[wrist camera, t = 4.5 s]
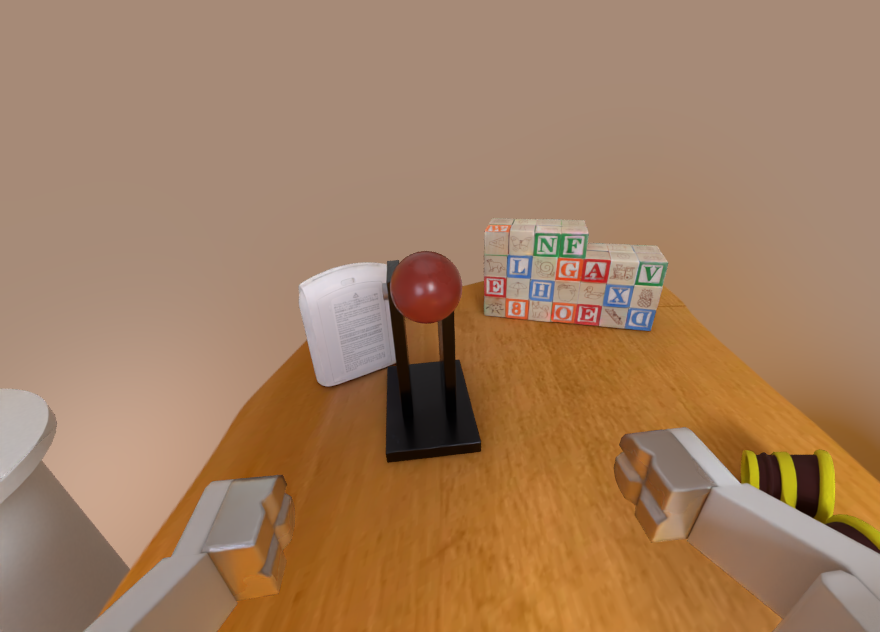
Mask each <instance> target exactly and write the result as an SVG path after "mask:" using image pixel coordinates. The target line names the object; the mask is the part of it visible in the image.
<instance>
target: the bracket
mask: <svg viewBox="0 0 880 632" xmlns="http://www.w3.org/2000/svg"><path fill="white" fill-rule="evenodd" d="M398 264H399V260H396V261H387V278H386V283H382V293H383V299H384V300H389V309H390V317H391V325H392V333H393V341H394V350H395V358H396V366H388V370H387V418H386V458H387V462H397V461H405V460H414V459H422V458H431V457H439V456H448V455H456V454H465V453H473V452H480V451H481V440H480V436H479V432H478V429H477V425H476V421H475V417H474V413H473V410H472V406H471V402H470V398H469V394H468V391H467V387H466V383H465V379H464V375H463V372H462V368H461V364H460V360H455V329H454V311H453V312H452V313H451V314H450V315H449V316H447V317H446V318H444V319H443V320H440V321H438V336H439V355H440V361H439V362H429V363H419V364H409V355H408V345H407V335H406V325H405V316H404V315H402V314H401V313H400V312H399V310H398V309H397V308H396V306H395V305H394V302H393V300H392V297H391V292H390V282H391V277H392V275H393V272H394V270H395V268H396V267H397V265H398Z"/></svg>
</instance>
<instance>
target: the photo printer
mask: <svg viewBox="0 0 880 632" xmlns="http://www.w3.org/2000/svg"><path fill="white" fill-rule="evenodd" d="M386 278H387V265H386V264H382V263H370V262H368V263H367V262H365V263H354V264H348V265H343V266H339V267H335V268H332V269H329V270H327V271H324V272H322V273H319V274H317V275H315V276H313V277H311V278H309V279H307V280H306V281H304V282H303V283H301V284H300V285H299V294H300V295H299V307H300V311H301V315H302V319H303V324H304V328H305V332H306V336H307V341H308V345H309V349H310V353H311V357H312V362H313V366H314V370H315V374H316V378H317V381H318V382H319V383H320V384H321V385H323V386H328V387H329V386H334V385H337V384H340V383H344V382H346V381H349V380H352V379H355V378H357V377H360V376H363V375H366V374H368V373H371V372H374V371H376V370H379V369H382V368H385V367H387V366H390V365H393V364H395V363H396V358H395V350H394V341H393V333H392V325H391V317H390V309H389V300H384V299H383V293H382V283H386Z"/></svg>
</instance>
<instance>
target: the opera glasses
mask: <svg viewBox="0 0 880 632" xmlns="http://www.w3.org/2000/svg"><path fill="white" fill-rule="evenodd" d="M741 483H742V484H743V483H748V484H750V485H752V486H754V487H755V488H757V489H759V490H761V491H763V492H765V493H767V494H768V495H770V496H772V497H774V498H776V499H778V500H780V501H782V502H783V503H785V504H787V505H789V506H791V507H793V508H795V509H797V510H798V511H800V512H802V513H804V514H806V515H808V516H810V517H811V518H813V519H815V520H817V521H819V522H821V523H823V524H825V525H826V526H828V527H830V528H832V529H834V530H836V531H838V532H840V533H841V534H843V535H845V536H847V537H849V538H851V539H853V540H854V541H856V542H858V543H860V544H862V545H864V546H866V547H868V548H869V549H871V550H873V551H875V552H877V553H879V554H880V532H879V531H877V530H876V529H875V528H874V527H872V526H871V525H869V524H867V523H866V522H864V521H862V520H860V519H858V518H856V517H853V516H849V515H842V514H838V515H833V511H834V503H835V474H834V466H833V461H832V458H831V456H830V454H829V453H828V452H827V451H825V450H816V451H815V452H814V454H813V455H789V454H788V453H787V452H773V453H772V454H771V455H767V454H766V453H764V452H763V453H761V454H760V455H755V453H754V452H753V451H749V450H744V451H743V453H742V458H741ZM863 534H864V535H863ZM871 541H872V542H871Z"/></svg>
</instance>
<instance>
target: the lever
mask: <svg viewBox="0 0 880 632" xmlns="http://www.w3.org/2000/svg"><path fill="white" fill-rule="evenodd" d="M390 292H391V297H392V300H393V302H394V305H395V306H396V308H397V309H398V310H399V312H400V313H401V314H402V315H404V316H405V317H406V318H408V319H410V320H412V321H415V322H418V323H426V324H427V323H434V322H438V321H440V320H443V319H444V318H446V317H447V316H449V315H450V314H451V313H452V312H453V311H454V310H455V308H456V307H457V305H458V303H459V301H460V298H461V294H462V281H461V277H460V274H459V272H458V270H457V268H456V267H455V265H454V264H453V263H452V262H451V261H450V260H449V259H448V258H446V257H445V256H443V255H441V254H438V253H435V252H429V251H422V252H417V253H413V254H411V255H409V256H407V257H406V258H404V259H403V260H402V261H401V262H400V263H399V264H398V265H397V267H396V268H395V270H394V272H393V275H392V277H391V282H390Z"/></svg>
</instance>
